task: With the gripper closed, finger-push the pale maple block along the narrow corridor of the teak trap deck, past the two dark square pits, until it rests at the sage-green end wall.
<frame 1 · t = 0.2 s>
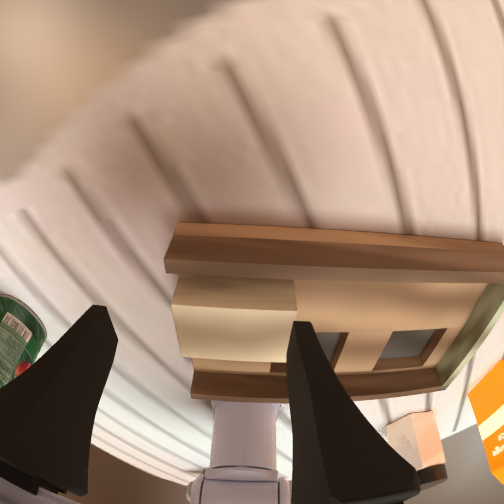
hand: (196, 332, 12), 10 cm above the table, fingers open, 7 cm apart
orange juice: (497, 374, 34), on the table
maple block: (237, 292, 22), point 1 cm above the table, touching trap deck
canned tomato: (20, 318, 28), on the table
trap deck: (347, 314, 25), on the table
jar: (408, 421, 41), on the table
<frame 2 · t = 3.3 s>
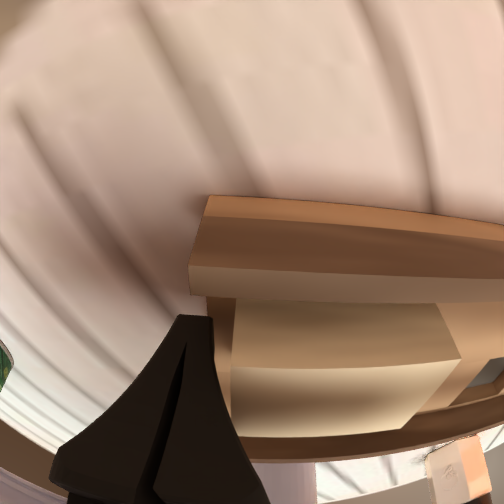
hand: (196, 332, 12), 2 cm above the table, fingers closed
maple block: (324, 321, 12), point 2 cm above the table, touching gripper
trap deck: (440, 341, 16), on the table
jar: (450, 447, 31), on the table
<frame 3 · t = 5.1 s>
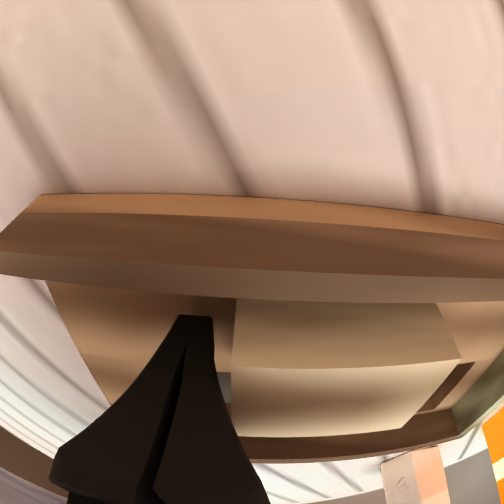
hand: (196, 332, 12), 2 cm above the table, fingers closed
maple block: (325, 321, 12), point 1 cm above the table, touching gripper, trap deck
trap deck: (324, 345, 16), on the table
jar: (408, 457, 31), on the table
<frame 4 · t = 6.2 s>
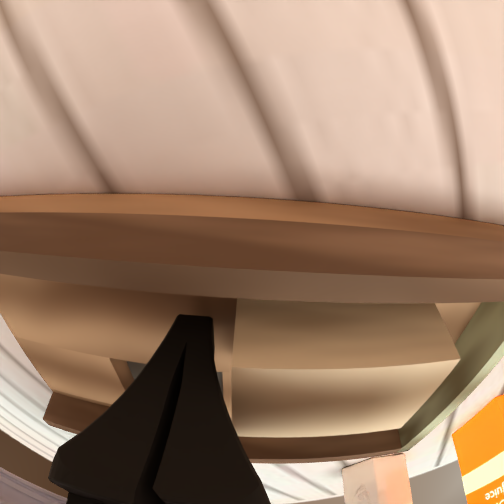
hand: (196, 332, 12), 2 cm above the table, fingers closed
orange juice: (492, 410, 25), on the table
maple block: (324, 322, 13), point 1 cm above the table, touching gripper, trap deck
trap deck: (224, 342, 16), on the table
jar: (373, 463, 31), on the table
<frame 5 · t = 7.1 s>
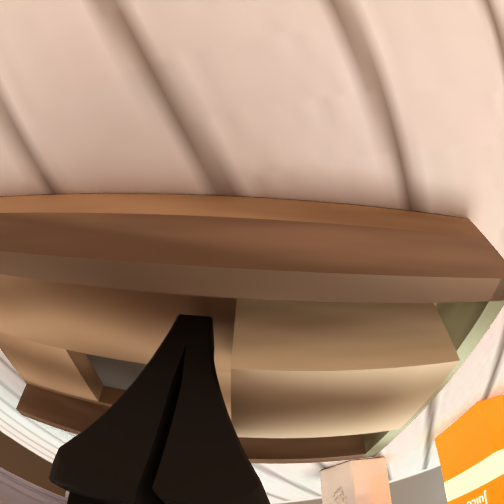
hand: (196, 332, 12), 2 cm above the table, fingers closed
orange juice: (477, 415, 25), on the table
maple block: (324, 323, 13), point 1 cm above the table, touching gripper, trap deck
trap deck: (170, 337, 16), on the table
jar: (353, 466, 31), on the table
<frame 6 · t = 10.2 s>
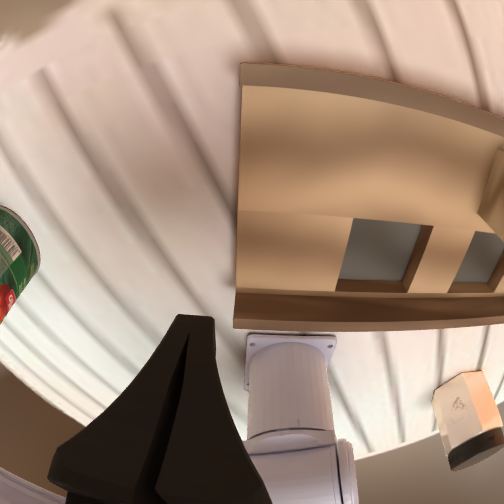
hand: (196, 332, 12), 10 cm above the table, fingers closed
canned tomato: (9, 241, 23), on the table
trap deck: (427, 208, 20), on the table
jar: (456, 385, 35), on the table
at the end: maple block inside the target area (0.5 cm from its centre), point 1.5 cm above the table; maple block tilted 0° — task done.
